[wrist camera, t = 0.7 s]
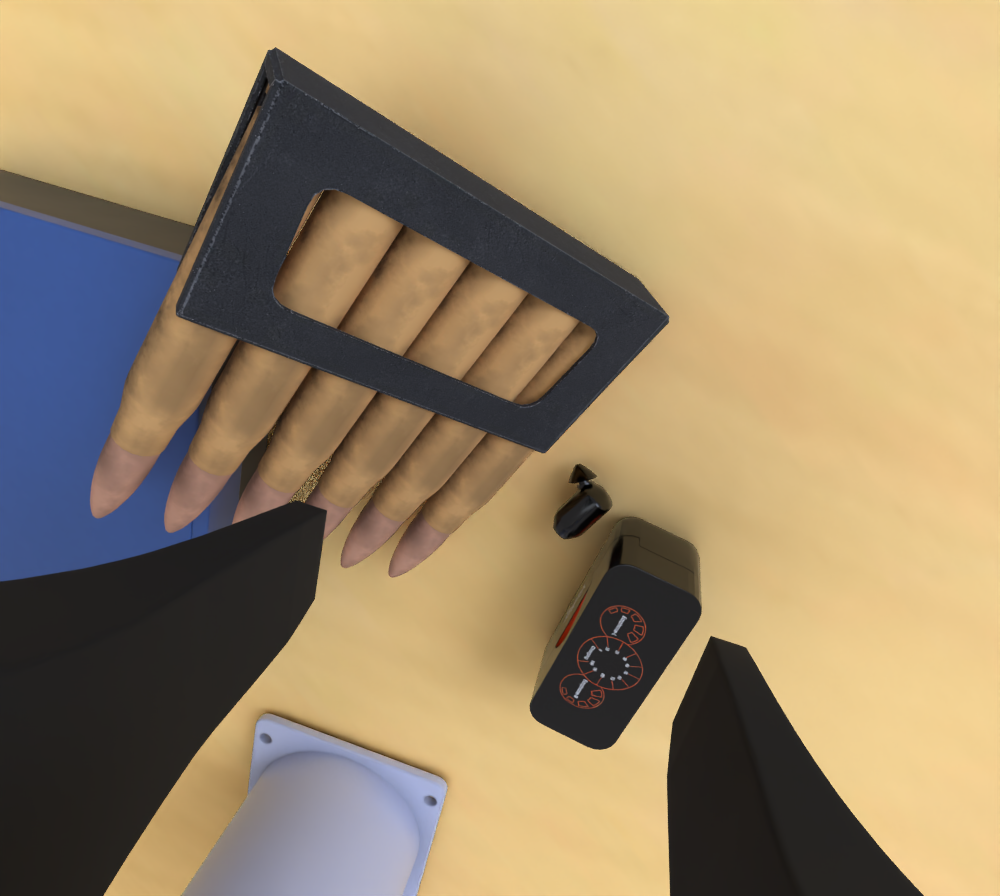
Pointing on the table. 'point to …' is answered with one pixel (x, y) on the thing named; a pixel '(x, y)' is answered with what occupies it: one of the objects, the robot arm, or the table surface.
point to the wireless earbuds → (615, 621)
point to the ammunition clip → (365, 329)
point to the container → (83, 377)
